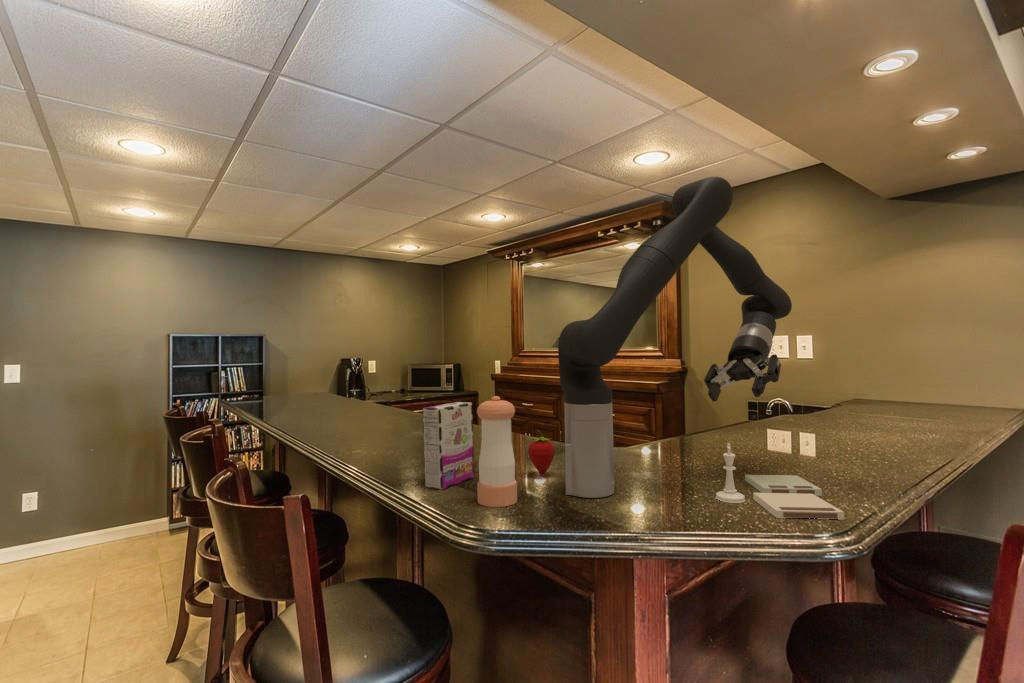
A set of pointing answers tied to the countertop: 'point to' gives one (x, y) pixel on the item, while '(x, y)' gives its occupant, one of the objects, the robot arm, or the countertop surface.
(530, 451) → the strawberry
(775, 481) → the tile two
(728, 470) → the chess piece
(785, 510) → the tile one
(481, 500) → the pepper shaker
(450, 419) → the candy bar box
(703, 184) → the robot arm
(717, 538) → the countertop surface
